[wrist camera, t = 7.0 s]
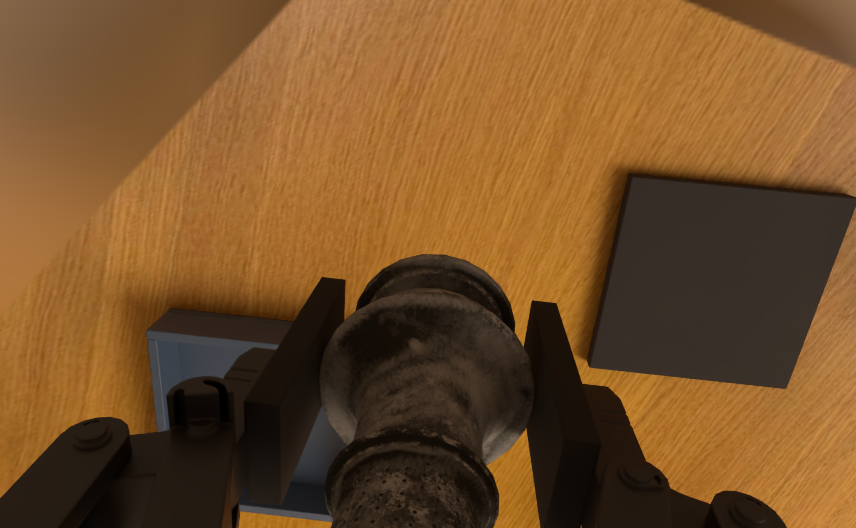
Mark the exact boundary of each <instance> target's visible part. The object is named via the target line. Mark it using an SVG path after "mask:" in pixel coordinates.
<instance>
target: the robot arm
mask: <svg viewBox="0 0 856 528" xmlns="http://www.w3.org/2000/svg"><path fill="white" fill-rule="evenodd" d="M344 308H345V280H343V279H334V278H325V277H322V278H321V279H320V281H319V282H318V284H317V286H316V287H315V289H314V290H313V292H312V294H311V295H310V297H309V298H308V300H307V302H306V303H305V305H304V306H303V308H302V310H301V311H300V313H299V314H298V316H297V317H296V319H295V321H294V322H293V324H292V325H291V327H290V329H289V330H288V332H287V333H286V335H285V337H284V338H283V340H282V341H281V343H280V345H279V346H278V348H277V349H276V350H274V349H266V348H257V347H253V348H251V349H250V350H248V351H246V352H245V353H243V354H242V355H240V356H239V357H238V358H237V359H236V361H235V362H234V363H233V365H232V366H231V367H230V370H228V372H227V373H226V374H225V376H224V378H223V379H222V378H219V377H215V376H201V377H194V378H190V379H187V380H185V381H182V382H180V383H178V384H177V385H175V386H174V387H172V388H171V389H170V391H169V392H168V394H167V395H166V399H167V409H168V418H169V427H170V428H169V430H166V431H161V432H155V433H146V434H136V435H130V434H129V429H128V425H127V424H126V423H125V422H124V421H122V420H121V419H117V418H112V417H99V418H93V419H89V420H85V421H82V422H80V423H78V424H76V425H74V426H71V427H70V428H68V429H67V430H66V431H65V432H63V433H62V434H61V435H60V436H59V437H58V438H57V439H56V440H55V441H54V442H53V443H52V444H51V445H50V446H49V447H48V448H47V449H46V450H45V452H44V453H43V454H42V455H41V456H40V457H39V458H38V459H37V460H36V461H35V462H34V463H33V464H32V465H31V466H30V467H29V469H28V470H27V471H26V472H25V473H24V474H23V475H22V476H21V477H20V478H19V479H18V480H17V481H16V482H15V483H14V484H13V485H12V487H11V488H10V489H9V490H8V491H7V492H6V493H5V494H4V495H3V496H2V497H1V498H0V528H239V518H240V508H239V499H240V497H241V495H242V493H243V491H244V489H245V487H246V485H247V493H248V502H254V503H262V504H270V505H278V506H281V504H282V502H283V500H284V497H285V495H286V492H287V490H288V487H289V485H290V482H291V480H292V477H293V475H294V473H295V470H296V468H297V465H298V463H299V460H300V458H301V455H302V453H303V451H304V448H305V446H306V443H307V441H308V438H309V436H310V433H311V431H312V428H313V426H314V424H315V421H316V419H317V416H318V414H319V411H320V409H321V406H322V403H321V401H320V392H319V370H320V365H321V360H322V355H323V352H324V350H325V348H326V346H327V345H328V343H329V341H330V339H331V338H332V336H333V334H334V332H335V331H336V329H337V328H338V327H339V326H340V325H341V324H342V323H343V322H344ZM524 349H525V351H526V352H527V354H528V356H529V358H530V362H531V366H532V370H533V374H534V378H535V383H536V386H535V400H534V409H533V411H532V414H531V416H530V419H529V421H528V424H527V426H526V428H527V435H528V442H529V449H530V456H531V463H532V470H533V477H534V484H535V492H536V499H537V506H538V513H539V520H540V527H541V528H580V527H581V525H582V528H787V527H786V525H785V524H784V522H783V521H782V519H781V518H780V517H779V516H778V514H777V513H776V512H775V511H774V510H773V509H771V508H770V507H769V506H768V505H766V504H765V503H764V502H762V501H760V500H758V499H756V498H754V497H752V496H750V495H748V494H744V493H741V492H737V491H722V492H720V493H717V494H715V496H714V498H713V500H712V502H711V504H709V503H706V502H703V501H700V500H697V499H694V498H692V497H689V496H686V495H683V494H681V493H679V492H676V491H675V490H673V489H671V488H670V486H669V483H668V479H667V478H666V477H665V476H664V475H663V473H662V472H661V471H660V470H659V469H657V468H656V467H655V466H653V465H652V464H650V463H648V462H646V460H645V457H644V455H643V453H642V450H641V448H640V445H639V443H638V441H637V438H636V436H635V433H634V431H633V428H632V426H630V421H629V419H628V416H627V415H626V412H625V409H624V407H623V404H622V402H621V400H620V398H619V397H618V396H617V395H616V394H615V393H614V392H613V391H612V390H611V389H609V388H608V387H605V386H597V385H588V384H582V382H581V378H580V375H579V372H578V369H577V366H576V363H575V360H574V357H573V354H572V351H571V347H570V344H569V341H568V338H567V335H566V332H565V329H564V326H563V323H562V320H561V316H560V313H559V310H558V307H557V304H556V303H550V302H541V301H532V303H531V309H530V314H529V320H528V326H527V331H526V337H525V343H524Z"/></svg>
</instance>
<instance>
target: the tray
mask: <svg viewBox="0 0 856 528" xmlns="http://www.w3.org/2000/svg"><path fill="white" fill-rule="evenodd" d="M292 324H293V321H283V320H274V319H265V318H256V317H246V316H237V315H228V314H219V313H209V312H200V311H191V310H182V309H172V308H171V309H170V310H168V311H167V312H166V313H165V314H164V315H163V316H162V317H161V318H159V319H158V320H157V321H156V322H155V323H154V324H153V325H151V326H150V327H149V328H148V329H147V330H146V334H147V343H148V352H149V361H150V370H151V378H152V387H153V396H154V405H155V414H156V423H157V431H158V432H161V431H166V430H169V428H170V427H169V418H168V409H167V399H166V395H167V394H168V392H169V391H170V389H171V388H172V387H174V386H175V385H177V384H178V383H180V382H182V381H185V380H187V379H190V378H194V377H201V376H215V377H219V378H222V379H223V378H224V376H225V374H226V373H227V372H228V370H230V367H231V366H232V365H233V363H234V362H235V361H236V359H237V358H238V357H239V356H240V355H242V354H243V353H245V352H246V351H248V350H250V349H251V348H253V347H257V348H266V349H274V350H276V349H277V348H278V346H279V345H280V343H281V341H282V340H283V338H284V337H285V335H286V333H287V332H288V330H289V329H290V327H291V325H292ZM346 446H348V445H347V444H346V443H345V442H344V441H343V440H342V438H341V437H340V436H339V434H338V433H337V432H336V430H335V429H334V428H333V427H332V425H331V424H330V423H329V420H328V418H327V415H326V413H325V410H324V408H323V406H321V409H320V411H319V414H318V416H317V419H316V421H315V424H314V426H313V428H312V431H311V433H310V436H309V438H308V441H307V443H306V446H305V448H304V451H303V453H302V455H301V458H300V460H299V463H298V465H297V468H296V470H295V473H294V475H293V477H292V480H291V482H290V485H289V487H288V490H287V492H286V495H285V497H284V500H283V502H282V504H281V506H278V505H270V504H262V503H254V502H248V493H247V485H246V487H245V489H244V491H243V493H242V495H241V497H240V499H239V508H240V511H243V512H252V513H260V514H268V515H277V516H285V517H294V518H302V519H311V520H319V521H327V522H333V520H332V518H331V515H330V513H329V511H328V509H327V507H326V502H325V493H324V486H325V481H326V477H327V473H328V469H329V467H330V466H331V464H332V462H333V461H334V459H335V458H336V456H337V455H338V453H339V452H340V451H341V450H343V449H344V448H345V447H346Z"/></svg>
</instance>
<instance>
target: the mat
mask: <svg viewBox="0 0 856 528" xmlns="http://www.w3.org/2000/svg"><path fill="white" fill-rule="evenodd" d="M855 207H856V197H853V196H851V195H845V194H834V193H824V192H814V191H804V190H794V189H783V188H773V187H763V186H753V185H743V184H732V183H722V182H712V181H702V180H692V179H681V178H671V177H661V176H651V175H641V174H631V173H630V174H628V177H627V182H626V186H625V191H624V196H623V200H622V205H621V209H620V214H619V218H618V223H617V227H616V232H615V236H614V241H613V245H612V250H611V255H610V259H609V264H608V268H607V273H606V277H605V282H604V286H603V291H602V295H601V300H600V304H599V309H598V314H597V318H596V323H595V327H594V332H593V336H592V341H591V345H590V350H589V354H588V359H587V362H588V365H589V367H590V368H598V369H608V370H617V371H626V372H635V373H644V374H654V375H663V376H672V377H681V378H690V379H700V380H709V381H718V382H727V383H736V384H746V385H755V386H764V387H773V388H782V389H786V388H787V386H788V383H789V380H790V378H791V375H792V372H793V370H794V367H795V365H796V362H797V359H798V357H799V354H800V351H801V349H802V346H803V344H804V341H805V338H806V336H807V333H808V330H809V328H810V325H811V323H812V320H813V317H814V315H815V312H816V309H817V307H818V304H819V302H820V299H821V296H822V294H823V291H824V288H825V286H826V283H827V281H828V278H829V275H830V273H831V270H832V267H833V265H834V262H835V259H836V257H837V254H838V252H839V249H840V246H841V244H842V241H843V238H844V236H845V233H846V231H847V228H848V225H849V223H850V220H851V217H852V215H853V212H854V210H855Z"/></svg>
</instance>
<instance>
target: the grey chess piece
mask: <svg viewBox="0 0 856 528" xmlns="http://www.w3.org/2000/svg"><path fill="white" fill-rule="evenodd" d="M535 386H536V383H535V378H534V374H533V370H532V366H531V362H530V358H529V356H528V354H527V352H526V351H525V349H524V347H523V345H522V344H521V342H520V340H519V339H518V337H517V335H516V334H515V320H514V316H513V312H512V308H511V304H510V302H509V300H508V298H507V297H506V295H505V293H504V292H503V290H502V288H501V287H500V285H499V284H498V283H497V282H496V281H495V280H494V279H493V278H492V277H491V276H489V275H488V274H487V273H486V272H485V271H484V270H482V269H480V268H479V267H477V266H475V265H473V264H471V263H470V262H468V261H466V260H462V259H459V258H455V257H451V256H447V255H432V254H422V255H417V256H413V257H409V258H405V259H401V260H399V261H397V262H395V263H393V264H391V265H390V266H388V267H386V268H384V269H382V270H381V271H380V272H379V273H378V274H377V275H376V276H375V277H374V278H373V279H372V280H371V281H370V282H369V283H368V284H367V286H366V288H365V289H364V291H363V293H362V295H361V296H360V298H359V300H358V303H357V307H356V311H355V312H354V313H353V314H352V315H351V316H350V317H349V318H348V319H347V320H346V321H345V322H343V323H342V324H341V325H340V326H339V327H338V328H337V329H336V331H335V332H334V334H333V336H332V338H331V339H330V341H329V343H328V345H327V346H326V348H325V350H324V352H323V355H322V360H321V365H320V370H319V392H320V401H321V403H322V406H323V408H324V410H325V413H326V415H327V418H328V420H329V423H330V424H331V425H332V427H333V428H334V429H335V430H336V432H337V433H338V434H339V436H340V437H341V438H342V440H343V441H344V442H345V443H346V444H347V445H348V446H346V447H345V448H344V449H343V450H341V451H340V452H339V453H338V455H337V456H336V458H335V459H334V461H333V462H332V464H331V466H330V467H329V469H328V473H327V477H326V481H325V486H324V493H325V502H326V507H327V509H328V511H329V513H330V515H331V518H332V520H333V523H332V526H331V528H493V527H494V525H495V522H496V520H497V517H498V514H499V493H498V489H497V486H496V483H495V480H494V477H493V475H492V473H491V472H490V471H489V469H488V468H487V466H486V465H488V464H490V463H491V462H493V461H494V460H495V459H497V458H498V457H500V456H501V455H502V454H504V453H505V452H507V451H508V450H509V449H510V448H511V447H512V446H513V444H514V443H515V442H516V441H517V439H518V438H519V437H520V436H521V434H522V433H523V432H524V431H525V429H526V426H527V424H528V421H529V419H530V416H531V414H532V411H533V409H534V400H535Z"/></svg>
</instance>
